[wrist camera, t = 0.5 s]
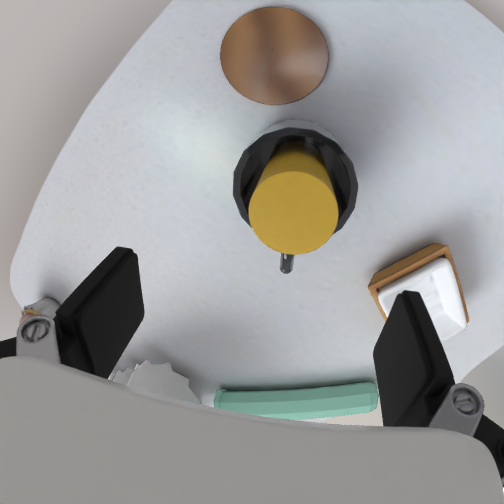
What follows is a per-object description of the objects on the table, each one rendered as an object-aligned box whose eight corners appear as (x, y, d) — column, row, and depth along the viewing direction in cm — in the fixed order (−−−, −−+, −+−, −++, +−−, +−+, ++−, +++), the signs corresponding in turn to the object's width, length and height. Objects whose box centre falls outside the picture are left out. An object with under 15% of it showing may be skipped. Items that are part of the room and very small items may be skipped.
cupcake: (70, 339, 50) (43, 377, 42) (33, 309, 49) (3, 343, 40) (80, 313, 46) (48, 354, 37) (39, 279, 44) (3, 315, 36)
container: (383, 409, 38) (212, 419, 43) (378, 416, 42) (224, 425, 47) (379, 372, 42) (215, 384, 47) (375, 382, 46) (226, 393, 51)
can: (311, 131, 28) (317, 156, 18) (334, 183, 30) (350, 237, 20) (257, 154, 30) (232, 193, 19) (282, 204, 32) (271, 266, 22)
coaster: (297, -7, 22) (297, -9, 21) (346, 80, 26) (346, 80, 25) (203, 37, 25) (202, 36, 25) (251, 121, 29) (250, 122, 28)
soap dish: (362, 268, 35) (369, 295, 30) (436, 229, 31) (453, 251, 27) (397, 336, 39) (404, 363, 34) (460, 304, 35) (473, 329, 31)
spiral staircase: (110, 369, 59) (185, 337, 48) (153, 439, 57) (240, 428, 46) (42, 404, 43) (96, 386, 32) (94, 483, 41) (174, 499, 30)
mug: (250, 115, 29) (235, 123, 22) (350, 126, 28) (365, 137, 21) (244, 237, 35) (230, 275, 29) (332, 248, 34) (338, 287, 28)
